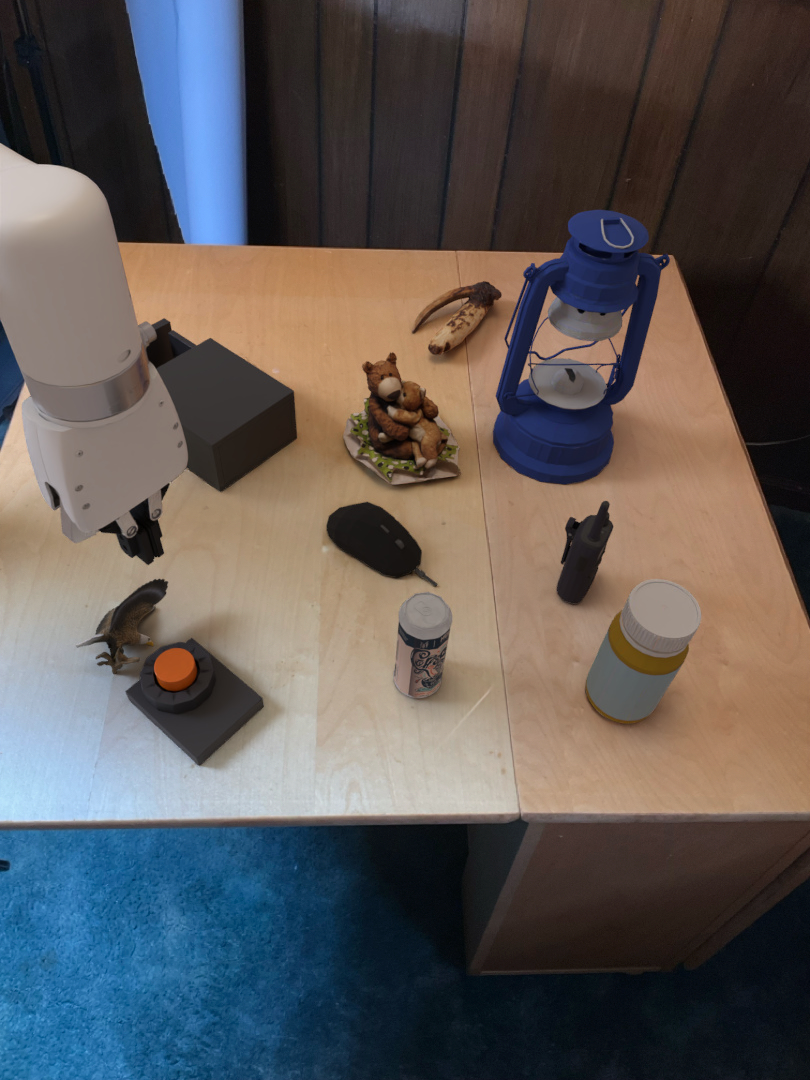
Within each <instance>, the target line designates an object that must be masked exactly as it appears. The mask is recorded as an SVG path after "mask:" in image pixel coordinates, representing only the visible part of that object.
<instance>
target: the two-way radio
mask: <svg viewBox="0 0 810 1080" xmlns="http://www.w3.org/2000/svg"><path fill="white" fill-rule="evenodd" d="M610 505H611V504H610V502H609V501H608V500H603V501H602V502H601V504H600V506H599V508H598V511H597V513H596V514H589V515H587V516H586V517H584V519H583V520H581V521H577V518H575V517H573V516H570V517H569V518H568V520H567V521H566V524H565V526H564V531H565V534H566V541H565V542H566V543H565V545H564V549H563V553H562V556H561V560H560V563H561V565H562V569H561V572H560V575H559V578H558V580H557V584H556V593H557V595H558V596H559V597H560V598H561V600H562V601H564V602H566V603H568V604H572V605H577V604H580V603H582V602H583V600H584V599H585V597H586V596H587V594H588V592H589V591H590V589H591V587H592V586H593V583H594V580H595V578H596V577H597V573H598V571H599V566H600V565H601V563H602V560H603V556H604V554H605V552H606V549H607V544H608V541H609V539H610V537H611V535H612V533H613V530H614V524H613V522H612V520H611V519H610V516H611V515H610V512H609V509H610Z"/></svg>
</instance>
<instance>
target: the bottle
mask: <svg viewBox="0 0 810 1080" xmlns="http://www.w3.org/2000/svg"><path fill="white" fill-rule="evenodd" d="M701 622H702V610H701V607H700V605H699V602H698V601H697V599H696V597H695V596H694V595H693V594H692V593H691V592H690V591H689V590H688V589H687V588H686V587H684V586H682V585H681V584H679V583H676V582H674V581H671V580H667V579H662V578H652V579H646V580H643V581H641V582H639V583H638V584H637V585H636V586H634V587H633V588H632V590H631V591H630V593H629V594H628V597H627V599H626V601H625V603H624V606H623V608H622V609H621V610H619V612H618V613H616V614H615V615H614V617H613V619H612V620H611V622H610V624H609V627H608V629H607V631H606V633H605V635H604V637H603V640H602V641H601V644H600V646H599V649H598V651H597V653H596V655H595V657H594V659H593V661H592V664H591V666H590V668H589V670H588V673H587V676H586V678H585V692H586V697H587V699H588V702H590V704H591V705H592V707H593V708H594V710H595V711H597V712H598V713H599V714H600V715H601V716H602V717H604V718H606V719H609V720H610V721H612V722H615V723H620V724H625V725H627V724H637V723H640V722H642V721H644V720H646V719H647V718H648V717H650V715H651V714H652V713H653V712H654V711H655V710H656V708H657V706H658V704H659V703H660V701H661V700H662V699H663V696H664V695H665V693H666V692H667V691H668V689H669V687H670V686H671V684H672V682H673V681H674V679H675V677H676V675H677V674H678V672H679V671H680V670H681V667H682V666H683V664H684V663H685V660H686V659H687V656H688V653H689V652H690V651H689V650H690V648H689V646H690V642H692V639H693V638H694V636H695V634H696V633H697V631H698V630H699V628H700V625H701Z"/></svg>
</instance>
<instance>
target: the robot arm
mask: <svg viewBox="0 0 810 1080" xmlns="http://www.w3.org/2000/svg"><path fill="white" fill-rule="evenodd" d="M0 322H1V324H2V327H3V329H4V332H5V335H6V337H7V340H8V343H9V345H10V347H11V350H12V352H13V356H14V358H15V360H16V362H17V365H18V368H19V370H20V373H21V375H22V378H23V380H24V383H25V385H26V388H27V390H28V393H29V395H30V396H27V398H25V399H24V400H23V401H22V402H21V419H22V427H23V428H22V429H23V434H24V440H25V444H26V448H27V453H28V456H29V461H30V463H31V467H32V470H33V473H34V477H35V480H36V483H37V485H38V486H37V487H38V488H39V491H40V494H41V495H42V498H43V500H44V501H45V504H47V505H48V506H49V507H50V509H51V510H52V511H54V512H55V511H56V510H59V511H60V522H61V523H60V524H61V533H62V534H63V535H64V536H65V537H66V538H67V539H68V540H69V541H71V542H72V543H73V544H78V543H82V542H84V541H86V540H87V539H90V538H92V537H95V536H97V533H101V534H112V535H113V534H114V535H115V536H116V539H117V542H118V544H119V547H120V549H121V550H122V551H123V553H125V555H127V556H128V557H129V558H131V559H133V558H135V557H136V558H138V559H139V560H140V561H142V563H144V564H145V565H146V566H150V565H151V564H152V563H154V562H155V559H156V558H160V557H162V556H163V555H164V554H165V551H164V547H163V544H162V540H161V538H163V532H162V528H161V525H160V522H159V519H160V518H161V516H162V515H163V512H164V511H163V510H164V509H163V500H164V498H165V496H166V494H167V492H168V490H169V488H170V484H173V482H174V481H175V480H176V479H177V478H178V477H180V475H181V474H183V472H184V471H186V469H188V468H187V462H188V451H187V445H186V440H185V437H184V433H183V429H182V426H181V423H180V420H179V417H178V414H177V411H176V409H175V406H174V404H173V401H172V399H171V397H170V395H169V393H168V390H167V388H166V386H165V384H164V383H163V381H162V379H161V377H160V375H159V373H158V372H157V370H156V368H155V367H154V365H153V364H152V363H151V362H150V361H149V360H148V356H147V352H146V348H147V346H149V344H150V342H152V341H154V340H156V338H157V334H156V332H155V330H154V328H153V327H152V324H151V323H149V322H148V321H143V322H141V323H140V324H138V320H137V314H136V311H135V307H134V303H133V299H132V295H131V292H130V286H129V283H128V279H127V275H126V271H125V267H124V261H123V258H122V254H121V250H120V246H119V242H118V236H117V232H116V229H115V225H114V220H113V217H112V213H111V211H110V206H109V203H108V200H107V198H106V197H105V194H104V193H103V191H102V190H101V188H99V186H98V185H97V184H96V183H95V182H94V180H92V179H91V178H89V177H88V176H87V175H85V174H84V173H82V172H79V171H77V170H75V169H73V168H70V167H66V166H63V165H55V164H42V163H41V164H40V163H39V164H38V163H36V162H34V161H32V160H30V159H28V158H26V157H25V156H23V155H21V154H19V153H18V152H16V151H14V150H13V149H11V148H9V147H8V146H6V145H4V144H3V143H1V142H0Z"/></svg>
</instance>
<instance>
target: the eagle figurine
mask: <svg viewBox="0 0 810 1080" xmlns="http://www.w3.org/2000/svg"><path fill="white" fill-rule="evenodd" d="M168 587H169V581H168V580H165V579H164V578H154V579H153V580H149V581H148V582H146V583H144V584H141V586H139V587H137V589H135V590H134V591H133V592H131V594H129V595H128V596H126V598H124V599H123V601H121V602H120V603H119V604H118V605H117V606H116V607H114V608H112V609H110V610H109V611H108V612H106V614H105V615H104V616H103V617H102V619H101V620H100V623H99V624H98V625H97V627H96V630H95V633H94V634H95V635H93V636H91V637H89V638H87V639H85V640H83V641H81V642H79V643H77V644H75V648H77V649H79V648H83V647H89V646H91V645H93V644H98V643H100V644H101V643H106V645H107V648H108V650H109V652H107V651H102V652H101V653H99V654H97V655H96V656H95V660H98V659H105V660H101V661H98V662H97V663H96V666H98V667H102V666H110V668H111V674H113V675H115V674H116V673H117V672H118V671H119V670H121V669H122V667H123V666H124V665H129V664H134V663H138V662H139V661H140V660H141V658H140V657H139V656H132V657H128V656H127V655H126V654H124V653H125V650H124V648H123V647H124V646H135V645H148V646H151V647H154V646H155V644H154V642H153V641H152V638H151V637H149V636H148V635H146V634H142V633H140V632H139V631H138V626H139V623H140V622H141V620H142V619H143V618H144V617H146V616H147V615H148V614H149V613H151V612H153V610H155V609H156V607H155V606H156V605H157V604H159V603H160V602H161V601H162V600H163V599H164V598H165V597H166V595H167V589H168Z"/></svg>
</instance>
